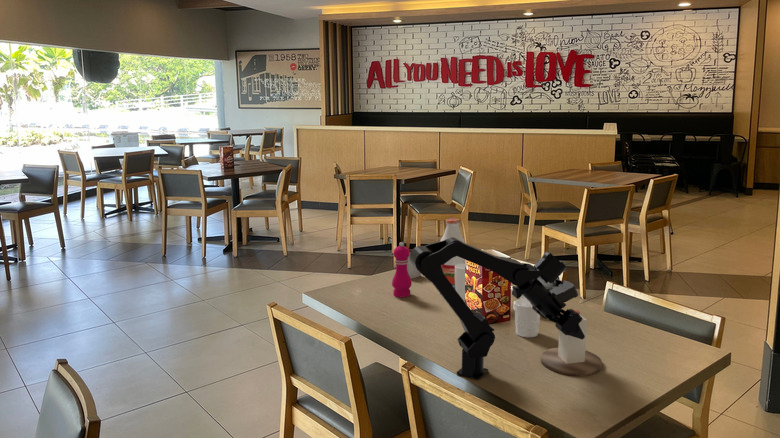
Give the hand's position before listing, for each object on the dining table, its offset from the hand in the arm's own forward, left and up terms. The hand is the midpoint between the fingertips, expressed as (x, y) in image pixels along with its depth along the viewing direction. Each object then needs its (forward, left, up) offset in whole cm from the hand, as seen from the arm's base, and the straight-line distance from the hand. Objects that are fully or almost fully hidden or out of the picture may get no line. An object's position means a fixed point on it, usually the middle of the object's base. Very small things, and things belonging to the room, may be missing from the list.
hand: (575, 331), depth 169 cm
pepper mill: (+26, +72, -9) cm, 77 cm away
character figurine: (+35, +28, -9) cm, 45 cm away
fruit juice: (+37, +57, -9) cm, 68 cm away
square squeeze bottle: (0, 0, -8) cm, 8 cm away
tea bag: (+48, +81, -9) cm, 94 cm away
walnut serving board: (0, +1, -9) cm, 9 cm away
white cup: (+14, +19, -9) cm, 25 cm away
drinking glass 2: (+25, +46, -9) cm, 53 cm away
